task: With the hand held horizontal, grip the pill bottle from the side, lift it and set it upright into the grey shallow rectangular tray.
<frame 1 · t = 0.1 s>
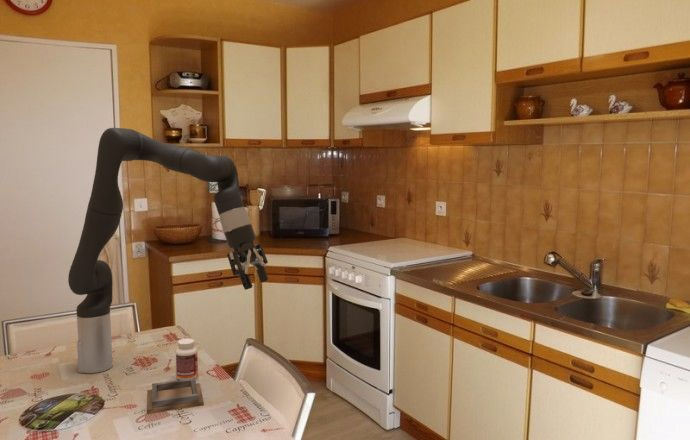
hand: (257, 285, 138), 31 cm above the table, tool tilted 20°, fingers open, 8 cm apart
pill bottle: (187, 377, 155), on the table
grey shallow rectangular tray: (174, 399, 140), on the table
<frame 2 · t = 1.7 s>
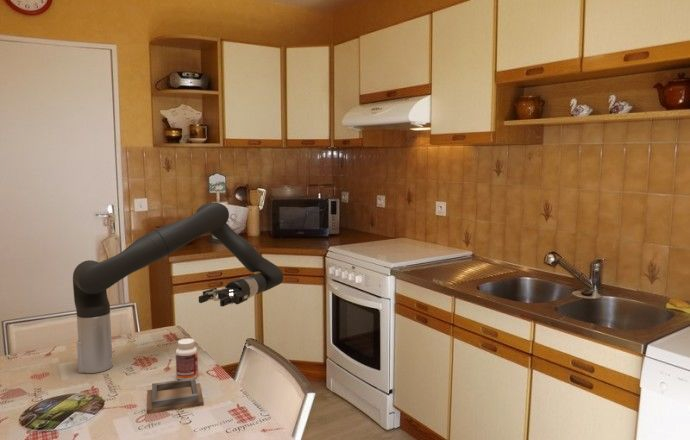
hand: (210, 301, 162), 20 cm above the table, tool horizontal, fingers open, 8 cm apart
nothing on the table moved.
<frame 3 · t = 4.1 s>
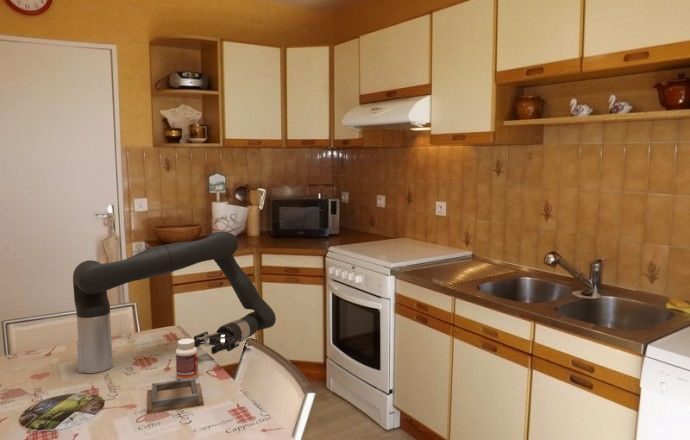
hand: (201, 348, 160), 6 cm above the table, tool horizontal, fingers open, 8 cm apart
nothing on the table moved.
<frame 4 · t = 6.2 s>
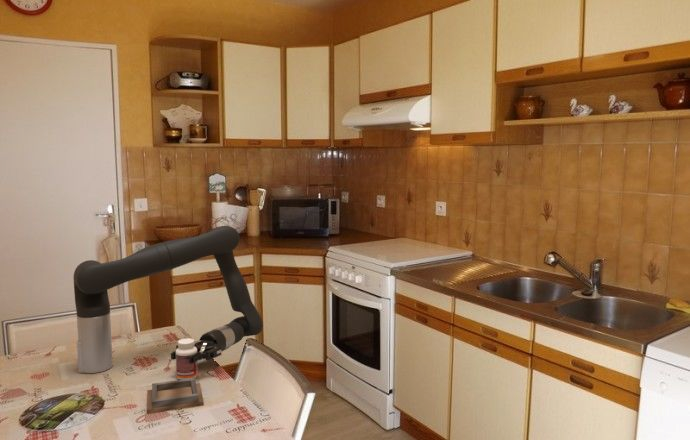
hand: (181, 358, 152), 7 cm above the table, tool horizontal, fingers closed on pill bottle, 6 cm apart
pill bottle: (187, 377, 155), on the table, touching gripper
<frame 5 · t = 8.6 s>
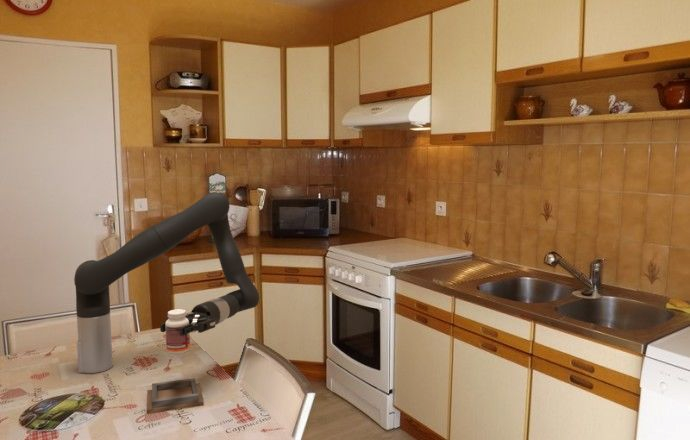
hand: (171, 330, 140), 19 cm above the table, tool horizontal, fingers closed on pill bottle, 6 cm apart
pill bottle: (178, 351, 143), point 12 cm above the table, touching gripper
when the fingers open (9 cm above the table, at t = 11.3 s): pill bottle drops 1 cm, resting on grey shallow rectangular tray.
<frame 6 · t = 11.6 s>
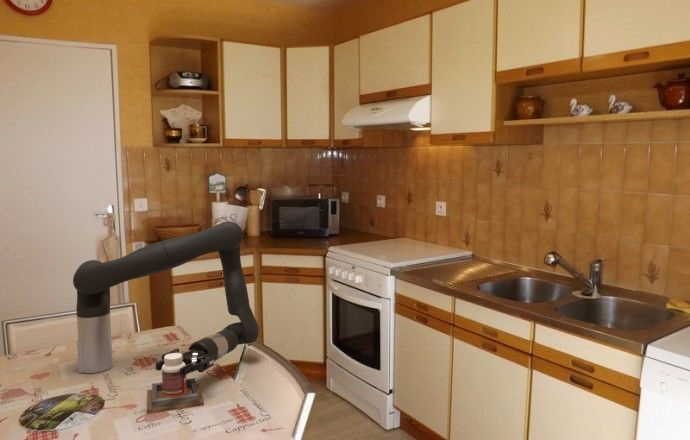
hand: (168, 369, 138), 9 cm above the table, tool horizontal, fingers open, 8 cm apart
pill bottle: (174, 396, 140), point 1 cm above the table, touching grey shallow rectangular tray
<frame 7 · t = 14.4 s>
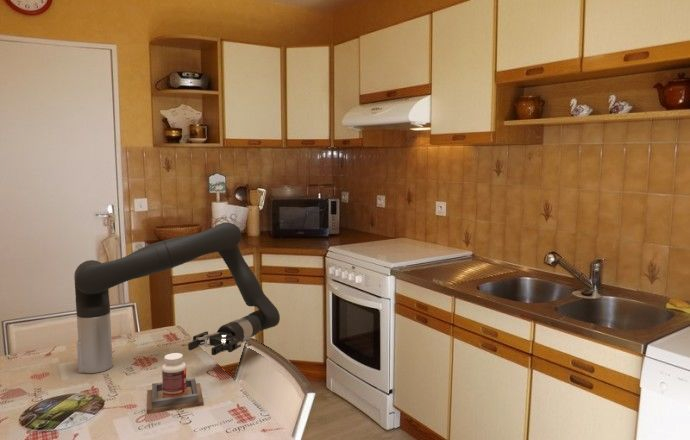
hand: (200, 349, 150), 10 cm above the table, tool horizontal, fingers open, 8 cm apart
nothing on the table moved.
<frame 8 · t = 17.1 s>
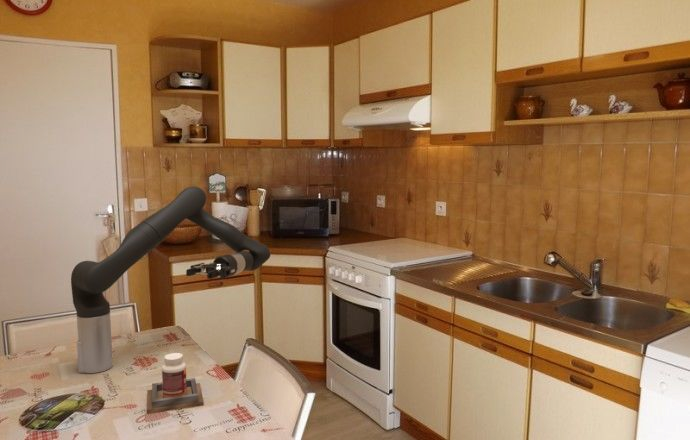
hand: (197, 274, 165), 28 cm above the table, tool horizontal, fingers open, 8 cm apart
nothing on the table moved.
at the end: pill bottle 0.2 cm from the grey shallow rectangular tray (horizontally); pill bottle tilted 0°; the gripper is holding nothing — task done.
